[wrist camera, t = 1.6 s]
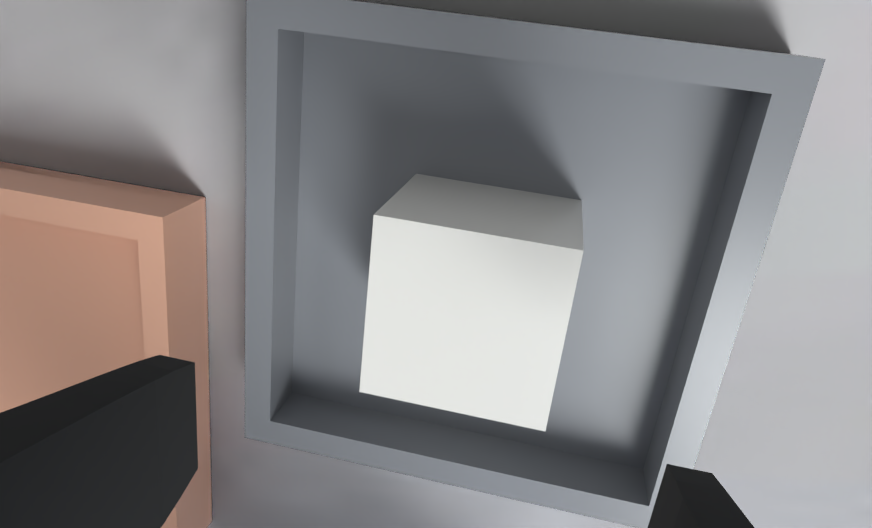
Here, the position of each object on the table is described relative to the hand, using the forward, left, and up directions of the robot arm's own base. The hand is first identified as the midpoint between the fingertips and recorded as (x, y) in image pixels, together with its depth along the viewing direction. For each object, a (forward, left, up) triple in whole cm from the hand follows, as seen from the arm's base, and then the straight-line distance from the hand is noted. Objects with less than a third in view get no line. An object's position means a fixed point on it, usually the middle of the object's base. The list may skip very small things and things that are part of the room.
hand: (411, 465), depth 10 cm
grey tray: (0, 0, -9) cm, 9 cm away
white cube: (0, 0, -9) cm, 9 cm away
